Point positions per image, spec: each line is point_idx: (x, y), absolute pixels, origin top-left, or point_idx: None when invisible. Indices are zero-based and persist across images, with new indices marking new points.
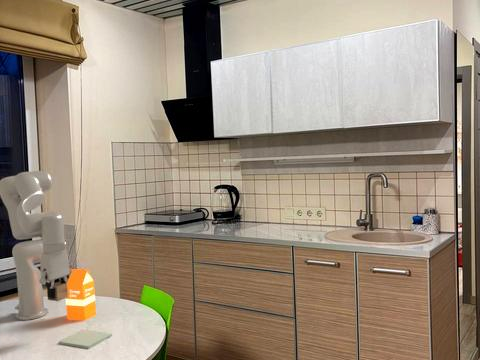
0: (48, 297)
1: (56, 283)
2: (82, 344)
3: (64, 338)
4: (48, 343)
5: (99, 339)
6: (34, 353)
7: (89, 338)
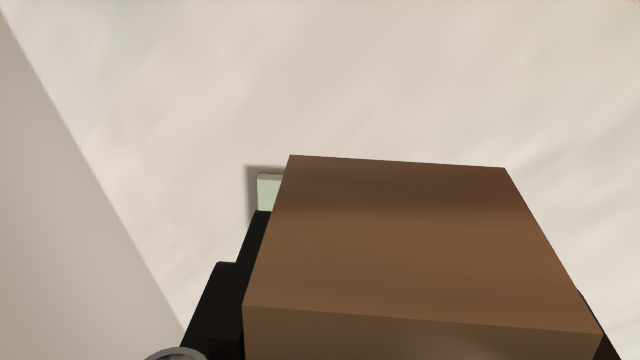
0: (254, 222)
1: (535, 351)
2: None
3: None
4: (238, 109)
5: None
6: (101, 139)
7: None
